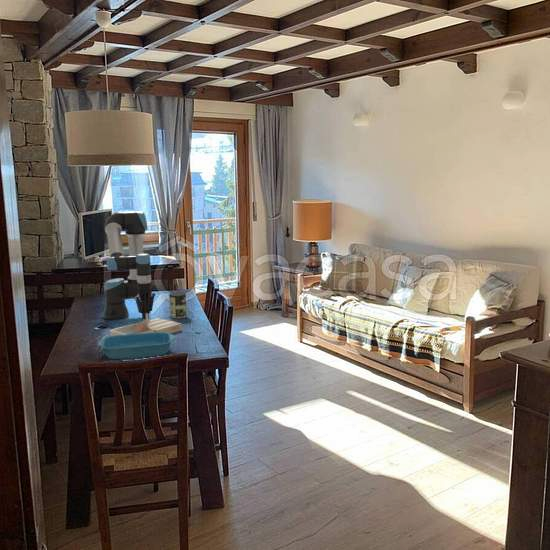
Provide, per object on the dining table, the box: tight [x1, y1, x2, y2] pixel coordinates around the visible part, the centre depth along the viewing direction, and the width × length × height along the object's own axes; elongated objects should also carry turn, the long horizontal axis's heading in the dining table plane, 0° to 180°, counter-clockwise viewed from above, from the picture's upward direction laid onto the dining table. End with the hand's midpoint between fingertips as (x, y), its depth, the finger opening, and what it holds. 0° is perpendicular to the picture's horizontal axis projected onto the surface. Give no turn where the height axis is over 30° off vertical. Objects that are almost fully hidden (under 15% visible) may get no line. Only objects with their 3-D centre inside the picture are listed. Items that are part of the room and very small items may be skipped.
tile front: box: [122, 330, 138, 334], centre depth 301 cm, size 6×6×3 cm
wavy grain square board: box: [133, 317, 183, 334], centre depth 315 cm, size 20×18×4 cm
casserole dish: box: [97, 332, 176, 360], centre depth 276 cm, size 37×22×7 cm, turn 104°
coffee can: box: [168, 292, 188, 319], centre depth 348 cm, size 10×10×14 cm
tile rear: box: [133, 322, 148, 333], centre depth 306 cm, size 6×6×3 cm
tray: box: [108, 323, 154, 337], centre depth 302 cm, size 18×16×4 cm
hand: (146, 324), depth 309 cm, fingers closed
